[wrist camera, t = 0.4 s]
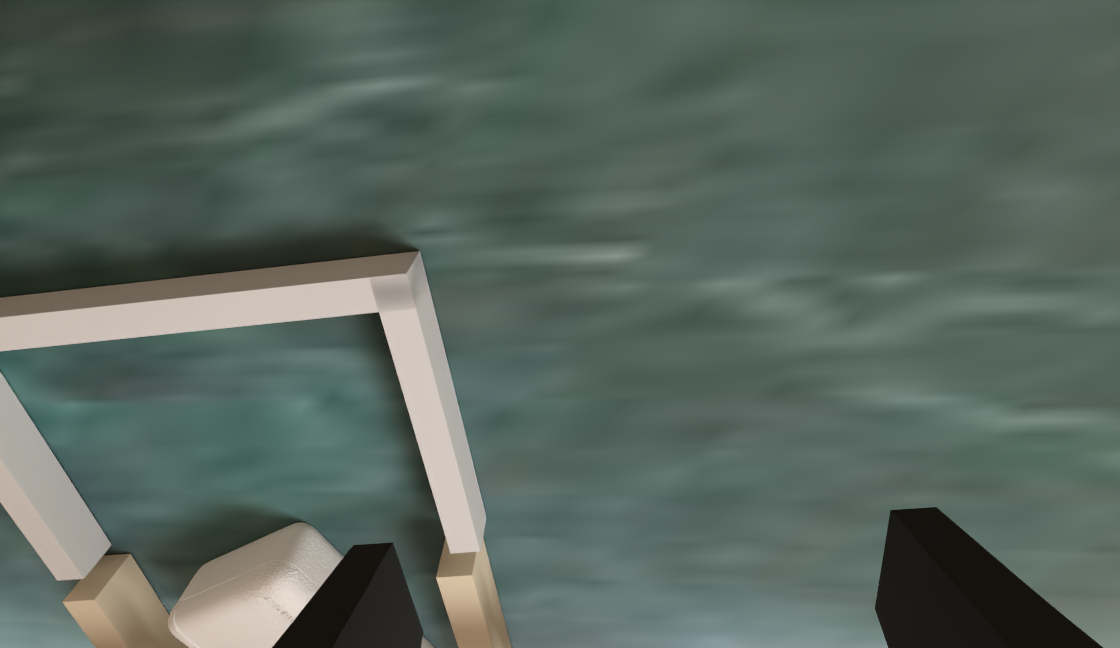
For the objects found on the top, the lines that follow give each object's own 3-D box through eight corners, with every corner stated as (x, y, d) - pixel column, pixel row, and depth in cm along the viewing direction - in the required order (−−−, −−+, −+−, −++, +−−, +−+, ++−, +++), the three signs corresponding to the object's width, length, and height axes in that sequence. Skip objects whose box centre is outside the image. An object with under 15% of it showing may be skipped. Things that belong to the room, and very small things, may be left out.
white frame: (486, 517, 22) (480, 551, 21) (86, 546, 24) (57, 580, 22) (419, 251, 18) (406, 273, 16) (-75, 306, 19) (-125, 330, 18)
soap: (450, 652, 26) (436, 727, 24) (346, 689, 28) (321, 763, 25) (308, 508, 23) (272, 578, 20) (197, 559, 24) (149, 630, 22)
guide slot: (513, 653, 26) (507, 703, 24) (177, 672, 27) (149, 720, 25) (480, 528, 23) (472, 575, 21) (100, 555, 24) (62, 602, 22)
